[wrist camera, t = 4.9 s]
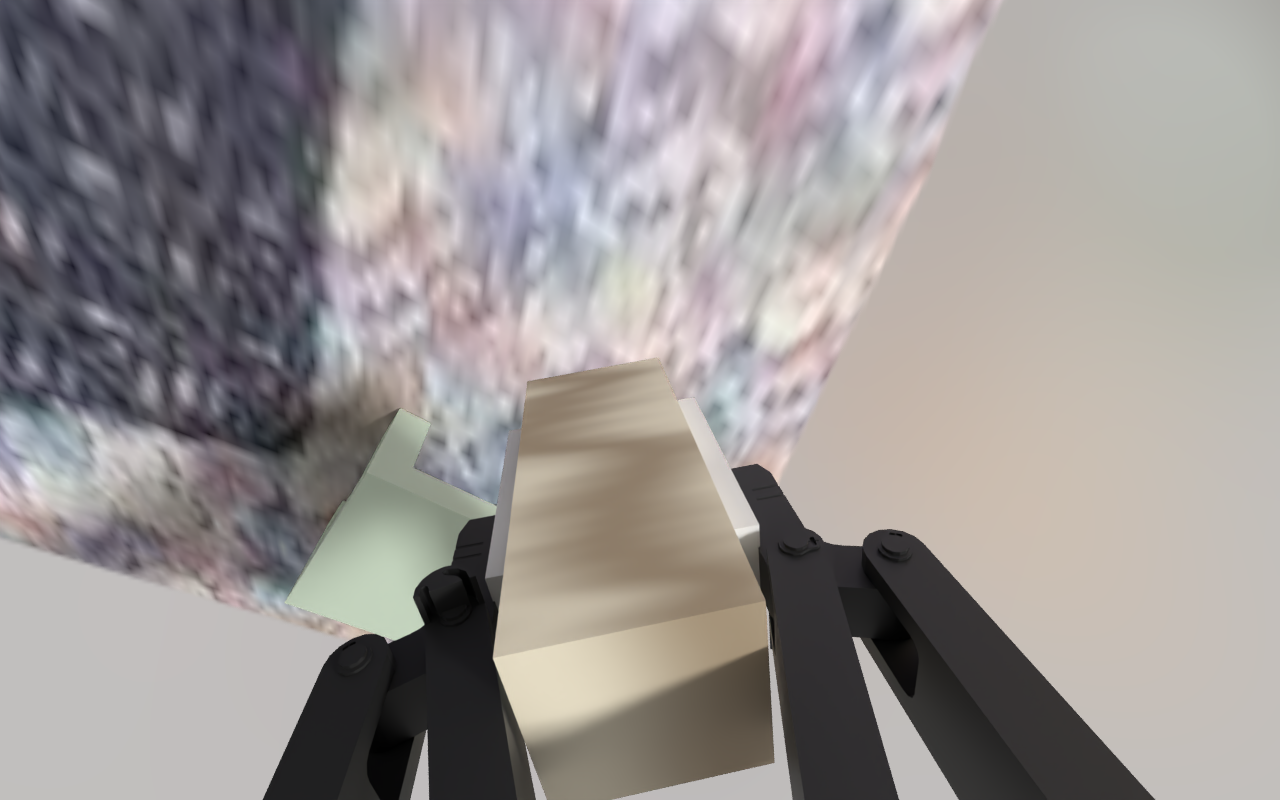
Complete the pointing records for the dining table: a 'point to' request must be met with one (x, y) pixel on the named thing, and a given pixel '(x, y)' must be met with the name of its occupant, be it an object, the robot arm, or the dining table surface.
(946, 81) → the dining table surface
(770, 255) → the dining table surface
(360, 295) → the dining table surface
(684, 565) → the pusher
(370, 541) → the footstool
